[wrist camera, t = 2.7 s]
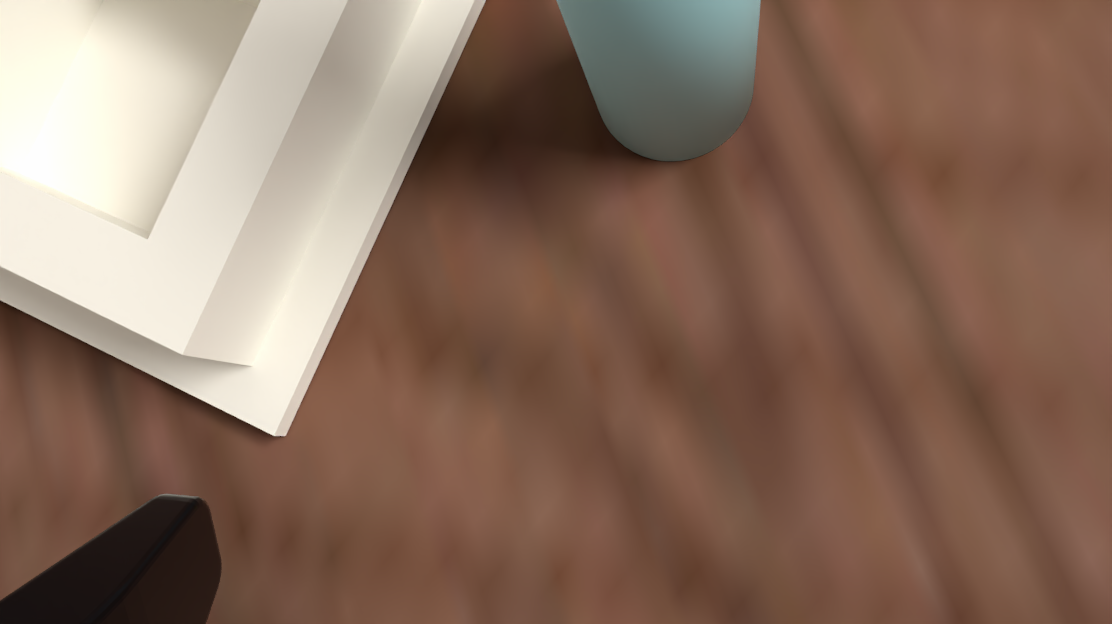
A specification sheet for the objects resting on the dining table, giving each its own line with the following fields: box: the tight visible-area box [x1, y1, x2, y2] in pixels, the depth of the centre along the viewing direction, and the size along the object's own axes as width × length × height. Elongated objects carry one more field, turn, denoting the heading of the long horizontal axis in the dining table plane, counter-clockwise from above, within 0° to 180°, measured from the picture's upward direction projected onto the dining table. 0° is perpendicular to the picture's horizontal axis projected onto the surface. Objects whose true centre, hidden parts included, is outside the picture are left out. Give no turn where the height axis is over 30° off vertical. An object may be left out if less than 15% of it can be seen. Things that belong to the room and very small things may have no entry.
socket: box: [0, 0, 486, 436], centre depth 23 cm, size 12×12×4 cm
